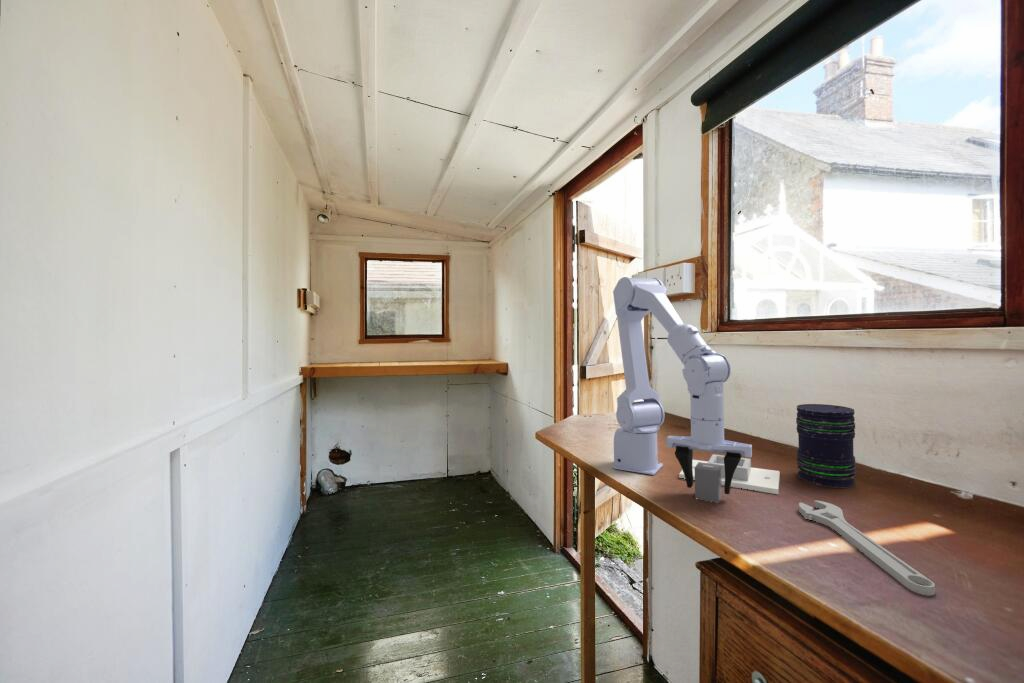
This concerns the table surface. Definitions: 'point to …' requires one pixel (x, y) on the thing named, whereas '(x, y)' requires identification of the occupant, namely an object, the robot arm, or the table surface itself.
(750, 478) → the outlet plate
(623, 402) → the robot arm
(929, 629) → the table surface
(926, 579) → the adjustable wrench
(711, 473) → the block
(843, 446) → the dark blue barrel
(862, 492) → the table surface
